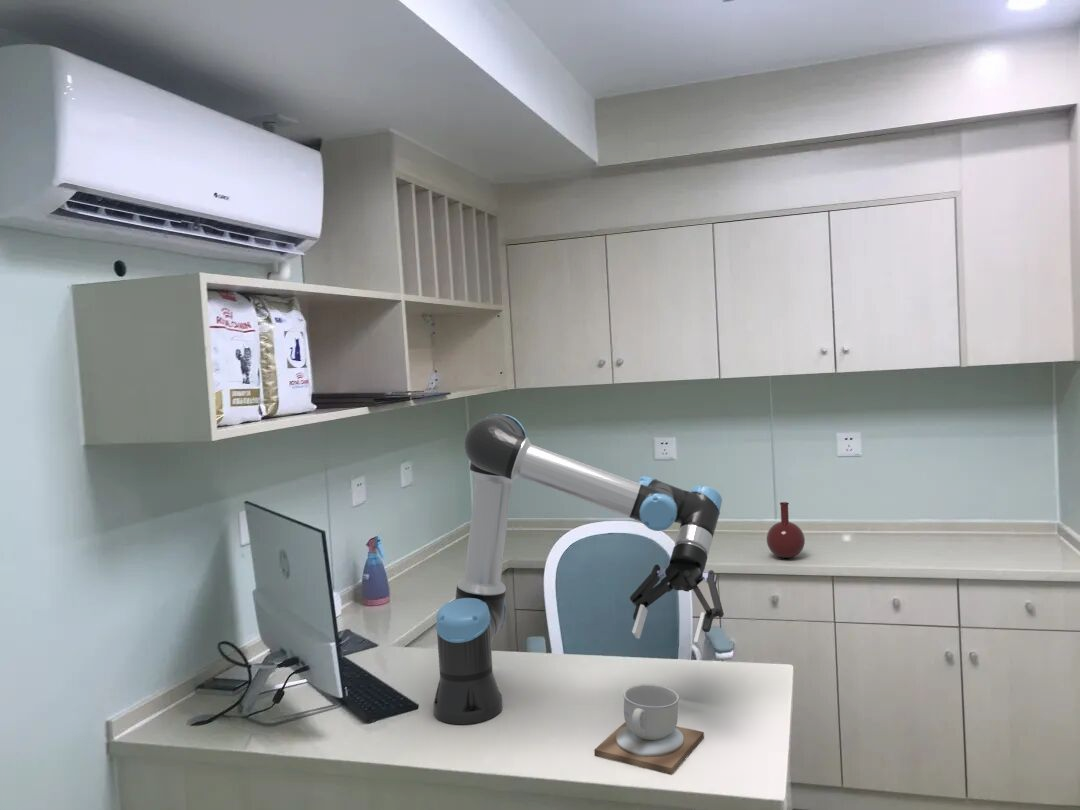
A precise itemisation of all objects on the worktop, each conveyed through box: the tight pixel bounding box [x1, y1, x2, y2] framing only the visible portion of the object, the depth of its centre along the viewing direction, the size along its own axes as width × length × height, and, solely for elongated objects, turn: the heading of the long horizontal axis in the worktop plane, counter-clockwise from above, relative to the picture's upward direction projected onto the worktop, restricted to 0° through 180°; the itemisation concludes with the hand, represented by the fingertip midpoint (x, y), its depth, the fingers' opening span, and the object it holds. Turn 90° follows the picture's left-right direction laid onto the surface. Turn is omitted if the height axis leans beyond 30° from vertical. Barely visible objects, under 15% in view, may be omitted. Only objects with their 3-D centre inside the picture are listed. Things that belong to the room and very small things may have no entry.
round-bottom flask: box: [766, 501, 806, 559], centre depth 298 cm, size 13×13×20 cm
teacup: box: [623, 683, 680, 740], centre depth 162 cm, size 14×11×8 cm
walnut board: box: [593, 721, 705, 775], centre depth 162 cm, size 16×16×2 cm
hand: (665, 640), depth 169 cm, fingers open, 13 cm apart
